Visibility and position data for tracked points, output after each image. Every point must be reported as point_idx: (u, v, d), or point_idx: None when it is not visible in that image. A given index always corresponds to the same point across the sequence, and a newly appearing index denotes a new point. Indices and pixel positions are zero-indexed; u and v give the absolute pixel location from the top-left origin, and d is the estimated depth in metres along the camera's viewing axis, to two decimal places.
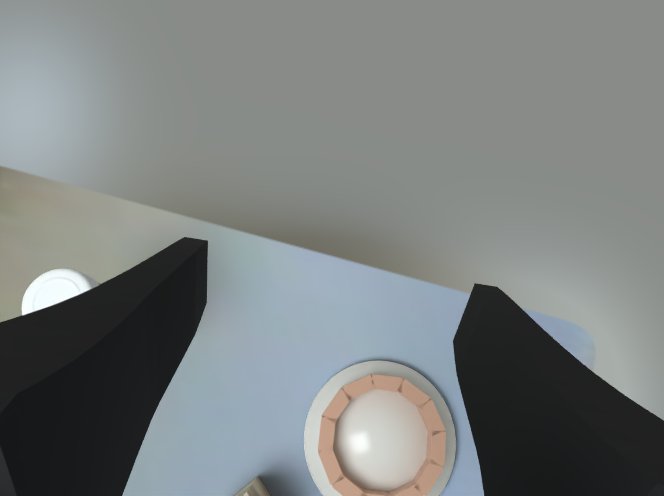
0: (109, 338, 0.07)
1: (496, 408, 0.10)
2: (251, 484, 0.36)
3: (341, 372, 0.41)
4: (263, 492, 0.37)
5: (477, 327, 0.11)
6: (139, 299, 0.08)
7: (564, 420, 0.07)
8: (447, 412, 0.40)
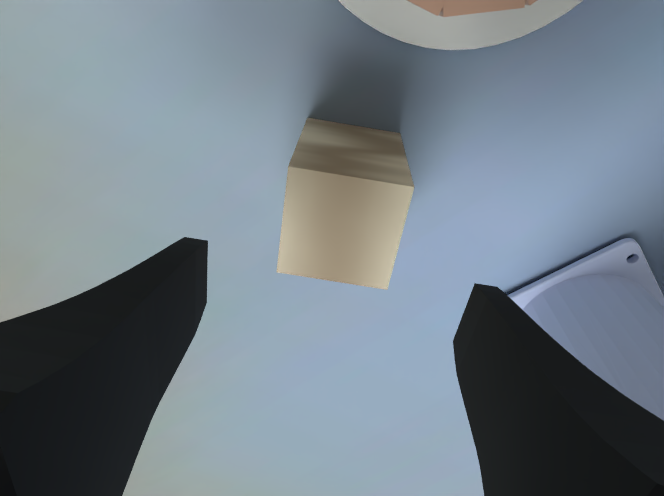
0: (109, 338, 0.07)
1: (496, 408, 0.10)
2: (298, 141, 0.17)
3: None
4: (333, 132, 0.18)
5: (477, 327, 0.11)
6: (139, 299, 0.08)
7: (564, 420, 0.07)
8: None
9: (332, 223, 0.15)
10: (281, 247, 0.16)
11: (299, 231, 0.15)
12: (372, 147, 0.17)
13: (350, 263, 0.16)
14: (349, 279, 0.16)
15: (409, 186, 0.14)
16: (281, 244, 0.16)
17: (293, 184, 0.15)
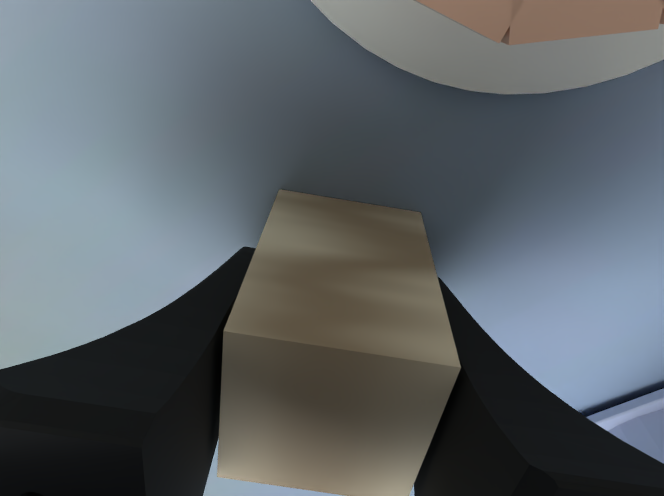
0: (206, 353, 0.07)
1: None
2: (256, 249, 0.10)
3: None
4: (317, 222, 0.11)
5: None
6: (222, 312, 0.09)
7: (471, 406, 0.07)
8: None
9: (309, 415, 0.08)
10: (222, 446, 0.09)
11: (251, 425, 0.09)
12: (379, 253, 0.11)
13: (342, 469, 0.09)
14: (341, 489, 0.10)
15: (451, 365, 0.08)
16: (221, 441, 0.09)
17: (236, 358, 0.08)
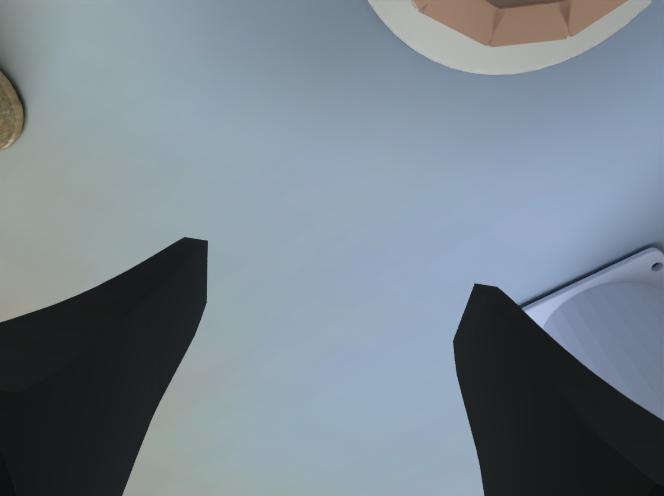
0: (109, 338, 0.07)
1: (496, 408, 0.10)
2: None
3: None
4: None
5: (477, 327, 0.11)
6: (139, 299, 0.08)
7: (564, 419, 0.07)
8: None
9: None
10: None
11: None
12: None
13: None
14: None
15: None
16: None
17: None
